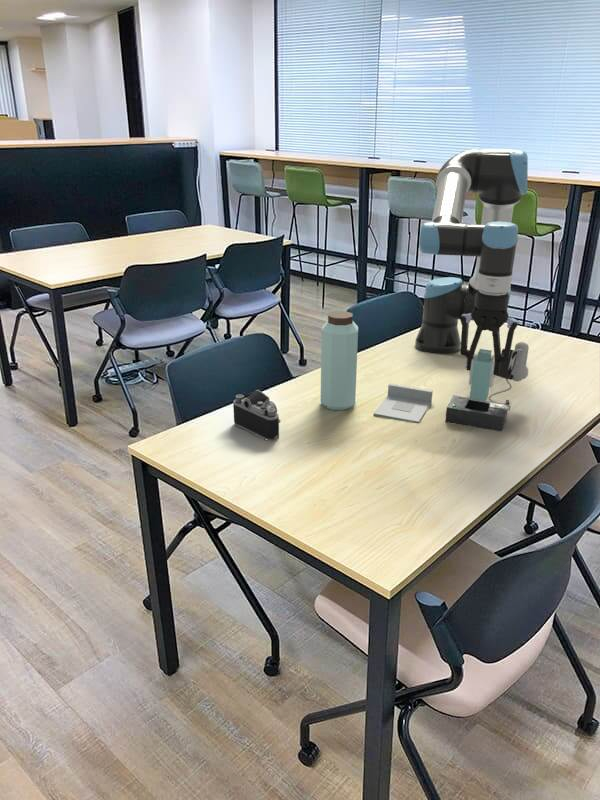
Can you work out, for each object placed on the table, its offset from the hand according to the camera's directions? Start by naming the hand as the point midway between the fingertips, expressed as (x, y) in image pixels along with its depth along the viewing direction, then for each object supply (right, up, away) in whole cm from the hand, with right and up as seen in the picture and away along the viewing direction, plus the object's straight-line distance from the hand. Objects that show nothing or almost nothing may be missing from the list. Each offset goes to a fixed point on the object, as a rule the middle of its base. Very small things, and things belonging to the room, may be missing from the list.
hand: (480, 383), depth 157 cm
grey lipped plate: (-17, -6, +11) cm, 22 cm away
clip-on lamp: (+10, -6, +12) cm, 17 cm away
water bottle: (-34, -5, +14) cm, 38 cm away
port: (0, -10, +4) cm, 11 cm away
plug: (0, -3, +1) cm, 3 cm away
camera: (-54, -11, +2) cm, 55 cm away
